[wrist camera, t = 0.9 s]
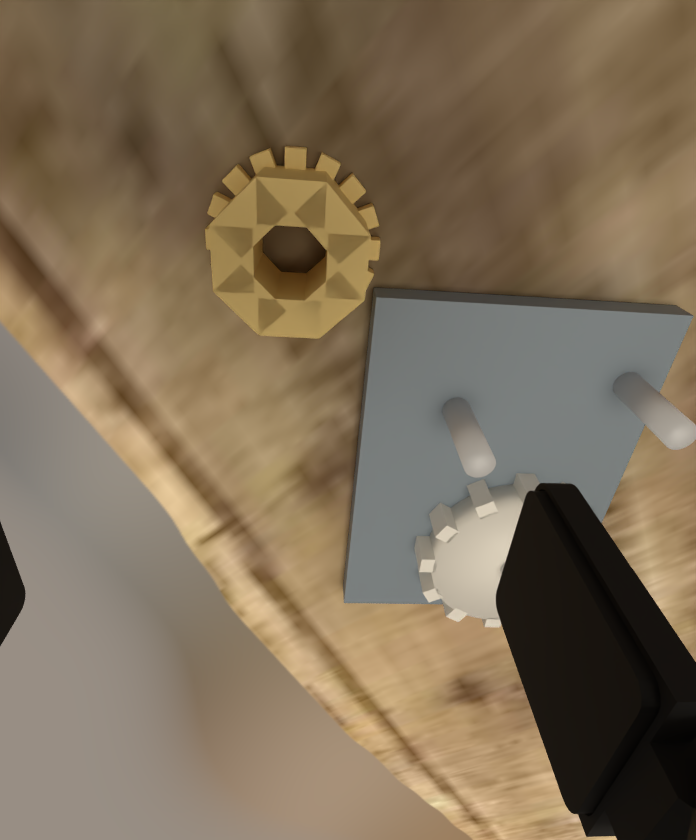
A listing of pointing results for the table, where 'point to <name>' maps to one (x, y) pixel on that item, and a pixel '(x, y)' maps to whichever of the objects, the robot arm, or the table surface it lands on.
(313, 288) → the gear
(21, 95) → the table surface
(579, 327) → the gear board
